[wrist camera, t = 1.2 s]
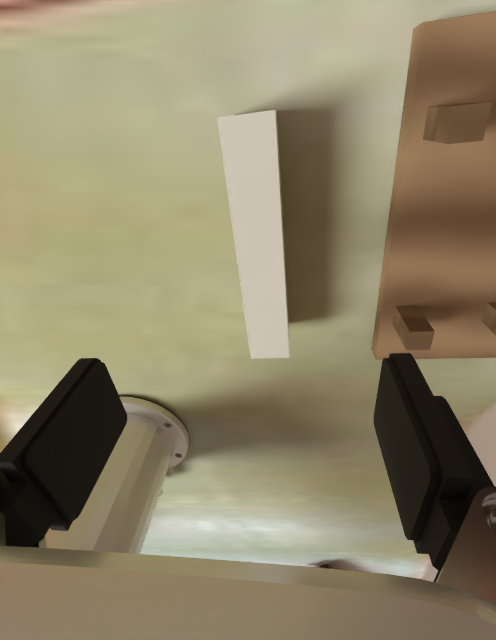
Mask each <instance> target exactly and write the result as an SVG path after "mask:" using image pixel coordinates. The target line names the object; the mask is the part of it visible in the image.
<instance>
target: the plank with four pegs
mask: <svg viewBox="0 0 496 640" xmlns="http://www.w3.org/2000/svg"><path fill="white" fill-rule="evenodd" d="M372 351H373V353H374V356H375V359H383V358H389V355H390V354H391V353H411V354H412V356H413V357H414V359H433V358H495V357H496V12H489V13H482V14H476V15H469V16H462V17H456V18H449V19H442V20H435V21H429V22H423V23H422V24H420V25H419V26H417V27H416V28H414V29H413V37H412V45H411V52H410V60H409V68H408V75H407V83H406V91H405V98H404V106H403V114H402V121H401V129H400V137H399V144H398V152H397V160H396V167H395V175H394V183H393V190H392V198H391V206H390V213H389V221H388V229H387V236H386V244H385V252H384V259H383V267H382V274H381V282H380V290H379V297H378V305H377V313H376V320H375V328H374V336H373V343H372Z"/></svg>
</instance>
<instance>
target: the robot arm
mask: <svg viewBox="0 0 496 640" xmlns="http://www.w3.org/2000/svg"><path fill="white" fill-rule="evenodd" d="M374 426H375V430H376V434H377V437H378V441H379V444H380V448H381V452H382V455H383V459H384V462H385V466H386V469H387V473H388V476H389V480H390V483H391V487H392V491H393V494H394V498H395V501H396V505H397V508H398V512H399V515H400V519H401V523H402V526H403V530H404V533H405V536H406V538H407V539H408V540H413V541H414V544H415V548H416V551H417V553H420V554H429V556H430V559H431V562H432V565H433V567H435V568H436V569H437V570H438V572H437V574H436V576H435V578H434V581H433V582H430V581H425V580H422V579H416V578H409V577H402V576H396V575H389V574H380V573H370V572H360V571H349V570H339V569H328V568H317V567H304V566H291V565H278V564H265V563H252V562H240V561H227V560H213V559H199V558H185V557H171V556H157V555H143V554H140V552H141V549H142V546H143V543H144V540H145V537H146V534H147V531H148V528H149V525H150V522H151V519H152V516H153V512H154V509H155V506H156V503H157V500H158V497H159V496H161V494H162V485H163V482H164V479H165V476H166V473H167V470H168V469H169V468H171V467H174V466H176V465H177V464H179V463H180V462H181V461H182V460H183V459H184V457H185V455H186V453H187V450H188V446H189V437H188V433H187V431H186V429H185V427H184V425H183V424H182V423H181V422H180V421H179V420H178V418H177V417H175V416H174V415H173V414H172V413H171V412H169V411H168V410H166V409H164V408H163V407H161V406H159V405H157V404H155V403H152V402H150V401H146V400H143V399H139V398H133V397H119V395H118V393H117V390H116V388H115V386H114V384H113V381H112V379H111V377H110V374H109V372H108V370H107V368H106V365H105V364H104V363H103V362H101V361H100V360H99V359H97V358H82V359H79V360H78V361H77V362H76V363H75V364H74V366H73V367H72V368H71V369H70V370H69V372H68V373H67V374H66V375H65V376H64V378H63V379H62V380H61V381H60V382H59V384H58V385H57V386H56V387H55V388H54V390H53V391H52V392H51V393H50V394H49V396H48V397H47V398H46V399H45V400H44V402H43V403H42V404H41V405H40V406H39V408H38V409H37V410H36V411H35V412H34V414H33V415H32V416H31V417H30V418H29V420H28V421H27V422H26V423H25V424H24V425H23V427H22V428H21V429H20V430H19V431H18V433H17V434H16V435H15V436H14V437H13V439H12V440H11V441H10V442H9V443H8V445H7V446H6V447H5V448H4V449H3V451H2V452H1V453H0V640H496V487H495V486H494V485H493V483H492V481H491V479H490V477H489V476H488V474H487V472H486V470H485V469H484V467H483V465H482V463H481V462H480V460H479V458H478V456H477V454H476V452H475V451H474V449H473V447H472V445H471V443H470V442H469V440H468V438H467V436H466V434H465V433H464V431H463V429H462V427H461V425H460V424H459V422H458V420H457V418H456V416H455V415H454V413H453V411H452V409H451V407H450V406H449V404H448V402H447V401H446V399H445V398H443V397H442V396H433V394H432V392H431V390H430V388H429V386H428V384H427V382H426V380H425V378H424V377H423V375H422V373H421V371H420V369H419V367H418V365H417V363H416V361H415V359H414V357H413V356H412V354H411V353H391V354H390V355H389V358H383V361H382V367H381V374H380V380H379V386H378V393H377V399H376V405H375V412H374Z"/></svg>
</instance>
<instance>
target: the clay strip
mask: <svg viewBox="0 0 496 640" xmlns="http://www.w3.org/2000/svg"><path fill="white" fill-rule="evenodd" d="M217 120H218V127H219V135H220V142H221V149H222V156H223V163H224V170H225V178H226V185H227V192H228V199H229V206H230V213H231V221H232V228H233V235H234V242H235V249H236V256H237V264H238V271H239V278H240V285H241V292H242V299H243V307H244V314H245V321H246V328H247V335H248V342H249V350H250V357H251V359H253V358H288V357H289V320H288V302H287V284H286V266H285V247H284V229H283V211H282V193H281V175H280V157H279V139H278V121H277V110H270V111H263V112H255V113H248V114H241V115H234V116H226V117H219V118H217Z"/></svg>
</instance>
